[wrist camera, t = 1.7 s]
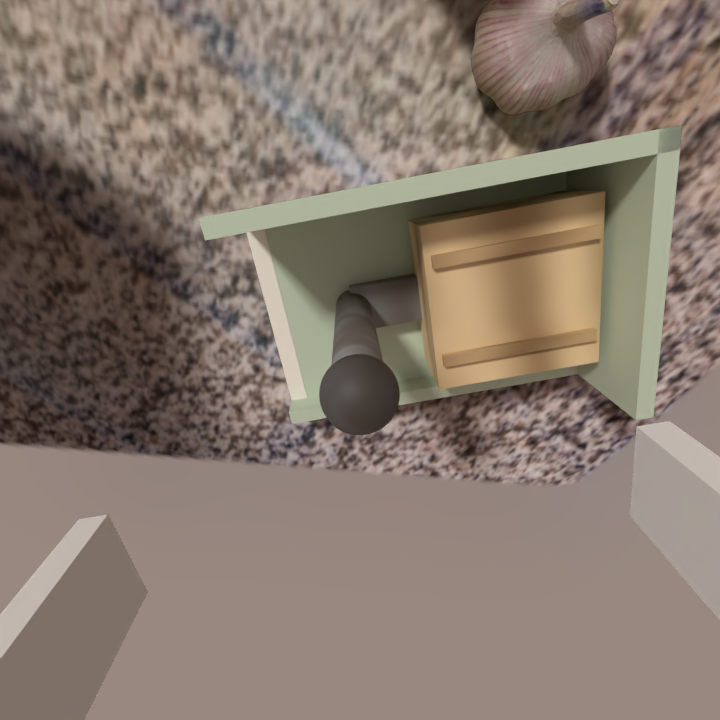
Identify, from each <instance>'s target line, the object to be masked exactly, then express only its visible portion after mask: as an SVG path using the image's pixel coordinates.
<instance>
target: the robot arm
mask: <svg viewBox="0 0 720 720" xmlns="http://www.w3.org/2000/svg"><path fill="white" fill-rule="evenodd" d="M630 517H631V518H632V519H633V521H634V522H635V523H636V524H637V525H638V526H639V528H640V529H641V530H642V531H643V532H644V533H645V535H646V536H647V537H648V538H649V539H650V540H651V541H652V542H653V544H654V545H655V546H656V547H657V548H658V549H659V551H660V552H661V553H662V554H663V555H664V556H665V558H666V559H667V560H668V561H669V562H670V563H671V564H672V566H673V567H674V568H675V569H676V570H677V571H678V572H679V574H680V575H681V576H682V577H683V578H684V579H685V581H686V582H687V583H688V584H689V585H690V586H691V587H692V589H693V590H694V591H695V592H696V593H697V594H698V595H699V597H700V598H701V599H702V600H703V601H704V602H705V604H706V605H707V606H708V607H709V608H710V609H711V611H712V612H713V613H714V614H715V615H716V616H717V617H718V619H719V620H720V457H719V456H717V455H716V454H714V453H713V452H712V451H710V450H709V449H708V448H706V447H705V446H703V445H702V444H701V443H699V442H698V441H696V440H695V439H693V438H692V437H690V436H689V435H688V434H686V433H685V432H684V431H682V430H681V429H680V428H678V427H677V426H675V425H674V424H673V423H671V422H670V421H668V422H662V423H656V424H649V425H643V426H637V429H636V442H635V454H634V467H633V480H632V492H631V505H630ZM146 595H147V589H146V588H145V586H144V584H143V582H142V580H141V578H140V576H139V574H138V572H137V570H136V568H135V566H134V564H133V562H132V560H131V558H130V557H129V555H128V553H127V551H126V549H125V547H124V545H123V543H122V541H121V539H120V537H119V535H118V533H117V532H116V529H115V528H114V526H113V523H112V522H111V520H110V518H109V516H108V514H107V515H101V516H95V517H89V518H83V519H78V521H77V522H76V523H75V524H74V525H73V527H72V528H71V529H70V530H69V531H68V533H67V534H66V535H65V536H64V538H63V539H62V540H61V541H60V543H59V544H58V545H57V546H56V547H55V549H54V550H53V551H52V552H51V553H50V555H49V556H48V557H47V558H46V560H45V561H44V562H43V563H42V564H41V566H40V567H39V568H38V569H37V570H36V572H35V573H34V574H33V575H32V577H31V578H30V579H29V580H28V581H27V583H26V584H25V585H24V586H23V587H22V589H21V590H20V591H19V592H18V594H17V595H16V596H15V597H14V598H13V600H12V601H11V602H10V603H9V605H8V606H7V607H6V608H5V609H4V611H3V612H2V613H1V614H0V720H84V719H85V717H86V715H87V713H88V711H89V709H90V707H91V705H92V703H93V701H94V699H95V697H96V695H97V693H98V691H99V689H100V687H101V685H102V683H103V681H104V679H105V677H106V675H107V673H108V671H109V668H110V667H111V665H112V662H113V661H114V659H115V657H116V655H117V653H118V651H119V649H120V647H121V645H122V643H123V641H124V639H125V637H126V635H127V633H128V631H129V629H130V627H131V625H132V623H133V620H134V619H135V617H136V615H137V613H138V610H139V608H140V607H141V605H142V603H143V601H144V599H145V597H146Z"/></svg>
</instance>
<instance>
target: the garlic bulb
mask: <svg viewBox="0 0 720 720" xmlns="http://www.w3.org/2000/svg"><path fill="white" fill-rule="evenodd" d="M618 2H619V0H491V1H490V2H489V3H488V4H487V5H486V6H485V7H484V9H483V10H482V12H481V14H480V15H479V18H478V20H477V23H476V28H475V44H474V48H473V51H472V57H471V67H472V72H473V75H474V79H475V82H476V84H477V86H478V88H479V89H480V90H481V91H482V92H483V93H484V94H485V95H487V96H489V97H490V98H492V99H493V100H494V102H495V103H496V105H497V107H498V108H499V109H500V110H501V111H502V112H504V113H506V114H511V115H515V114H521V113H523V112H527V111H532V110H534V111H541V110H546V109H549V108H551V107H553V106H554V105H556V104H557V103H558V102H560V101H561V100H563V99H565V98H569V97H572V96H574V95H576V94H578V93H579V92H581V91H582V90H583V89H584V88H585V87H586V86H587V85H588V84H589V83H590V81H591V80H592V78H593V76H594V75H595V74H596V72H597V71H598V70H600V69H601V68H602V67H603V66H604V65H605V63H606V62H607V61H608V59H609V58H610V56H611V54H612V51H613V49H614V46H615V42H616V26H615V22H614V19H613V13H612V10H613V9H614V8H615V7H616V6H617V4H618Z"/></svg>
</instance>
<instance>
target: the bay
mask: <svg viewBox="0 0 720 720" xmlns="http://www.w3.org/2000/svg"><path fill="white" fill-rule="evenodd" d="M681 135H682V125H679V126H674V127H669V128H663V129H658V130H653V131H648V132H643V133H637V134H632V135H627V136H622V137H617V138H612V139H606V140H601V141H596V142H591V143H586V144H580V145H575V146H570V147H565V148H560V149H555V150H549V151H544V152H539V153H534V154H529V155H523V156H518V157H513V158H508V159H503V160H498V161H492V162H487V163H482V164H477V165H472V166H467V167H461V168H456V169H451V170H446V171H441V172H435V173H430V174H425V175H420V176H415V177H410V178H404V179H399V180H394V181H389V182H384V183H378V184H373V185H368V186H363V187H358V188H353V189H347V190H342V191H337V192H332V193H327V194H321V195H316V196H311V197H306V198H301V199H296V200H290V201H285V202H280V203H275V204H270V205H265V206H259V207H254V208H249V209H244V210H239V211H233V212H228V213H223V214H218V215H213V216H208V217H202V218H199V222H200V225H201V228H202V231H203V235H204V238H205V240H210V239H215V238H220V237H226V236H231V235H236V234H241V233H247V236H248V240H249V244H250V247H251V251H252V255H253V259H254V262H255V266H256V270H257V273H258V277H259V281H260V284H261V288H262V292H263V296H264V299H265V303H266V307H267V310H268V314H269V318H270V321H271V325H272V329H273V332H274V336H275V340H276V344H277V347H278V351H279V355H280V358H281V362H282V366H283V369H284V373H285V377H286V381H287V384H288V388H289V392H290V395H291V399H292V402H291V406H290V410H289V415H290V418H291V422H292V424H294V423H300V422H306V421H312V420H317V419H323V418H326V416H325V415H324V413H323V411H322V408H321V405H320V400H319V389H320V385H321V381H322V378H323V376H324V374H325V373H326V371H327V370H328V369H329V367H330V366H331V365H332V352H333V339H334V326H335V313H336V303H337V300H338V298H339V296H340V295H341V294H342V293H343V292H345V291H347V290H350V289H349V285H353V284H358V283H364V282H369V281H375V280H380V279H385V278H391V277H396V276H402V275H407V274H412V273H414V269H413V261H412V253H411V245H410V238H409V230H408V222H407V220H411V219H416V218H421V217H426V216H432V215H437V214H442V213H448V212H453V211H458V210H463V209H469V208H474V207H479V206H484V205H490V204H495V203H500V202H506V201H511V200H516V199H521V198H527V197H532V196H537V195H543V194H548V193H553V192H558V191H605V216H604V241H603V265H602V290H601V315H600V340H599V362H595V363H589V364H583V365H577V366H572V367H566V368H560V369H554V370H549V371H543V372H537V373H531V374H526V375H520V376H514V377H509V378H503V379H497V380H491V381H486V382H480V383H474V384H468V385H463V386H457V387H451V388H445V389H440V390H439V388H438V386H437V384H436V381H435V379H434V377H433V375H432V373H431V371H430V369H429V367H428V365H427V362H426V360H425V354H424V346H423V338H422V331H421V323H420V320H418V321H413V322H407V323H402V324H396V325H391V326H385V327H380V328H376V332H377V336H378V341H379V345H380V350H381V354H382V359H383V362H384V363H386V364H387V365H388V366H389V367H390V369H391V370H392V371H393V373H394V374H395V376H396V378H397V381H398V384H399V390H400V400H399V405H404V404H410V403H415V402H421V401H427V400H433V399H438V398H444V397H450V396H456V395H461V394H467V393H473V392H479V391H484V390H490V389H496V388H502V387H508V386H513V385H519V384H525V383H531V382H536V381H542V380H548V379H554V378H559V377H565V376H571V375H577V374H578V375H579V376H581V377H582V378H583V379H584V380H586V381H587V382H588V383H590V384H591V385H592V386H593V387H595V388H596V389H597V390H598V391H600V392H601V393H602V394H603V395H605V396H606V397H607V398H608V399H610V400H611V401H612V402H614V403H615V404H616V405H617V406H619V407H620V408H621V409H622V410H624V411H625V412H626V413H627V414H629V415H630V416H631V417H632V418H634V419H635V420H640V419H646V418H652V417H653V416H654V406H655V396H656V386H657V376H658V366H659V356H660V346H661V336H662V326H663V316H664V306H665V295H666V285H667V275H668V265H669V255H670V245H671V235H672V225H673V215H674V205H675V195H676V185H677V175H678V165H679V155H680V145H681Z"/></svg>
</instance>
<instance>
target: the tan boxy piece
mask: <svg viewBox="0 0 720 720" xmlns="http://www.w3.org/2000/svg"><path fill="white" fill-rule="evenodd" d="M604 216H605V191H558V192H553V193H548V194H543V195H537V196H532V197H527V198H521V199H516V200H511V201H506V202H500V203H495V204H490V205H484V206H479V207H474V208H469V209H463V210H458V211H453V212H448V213H442V214H437V215H432V216H426V217H421V218H416V219H411V220H407V222H408V230H409V238H410V245H411V253H412V261H413V269H414V273H412V274H407V275H402V276H396V277H391V278H385V279H380V280H375V281H369V282H364V283H358V284H353V285H349V289H350V290H347V291H345V292H343V293H342V294H341V295H340V296H339V298H338V300H337V303H336V313H335V326H334V339H333V352H332V365H331V366H330V367H329V369H328V370H327V371H326V373H325V374H324V376H323V378H322V381H321V385H320V389H319V400H320V405H321V408H322V411H323V413H324V415H325V416H326V418H327V419H328V420H329V421H330V423H331V424H333V425H334V426H335V427H336V428H338V429H339V430H341V431H343V432H346V433H349V434H354V435H365V434H370V433H373V432H376V431H378V430H380V429H381V428H383V427H384V426H385V425H386V424H388V423H389V421H390V420H391V419H392V418H393V416H394V414H395V413H396V411H397V408H398V405H399V400H400V390H399V384H398V381H397V378H396V376H395V374H394V373H393V371H392V370H391V369H390V367H389V366H388V365H387V364H386V363H384V362H383V359H382V354H381V350H380V345H379V341H378V336H377V332H376V328H380V327H385V326H391V325H396V324H402V323H407V322H413V321H418V320H420V323H421V331H422V338H423V346H424V354H425V360H426V362H427V365H428V367H429V369H430V371H431V373H432V375H433V377H434V379H435V381H436V384H437V386H438V388H439V390H440V389H445V388H451V387H457V386H463V385H468V384H474V383H480V382H486V381H491V380H497V379H503V378H509V377H514V376H520V375H526V374H531V373H537V372H543V371H549V370H554V369H560V368H566V367H572V366H577V365H583V364H589V363H595V362H599V340H600V315H601V290H602V265H603V241H604Z"/></svg>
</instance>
